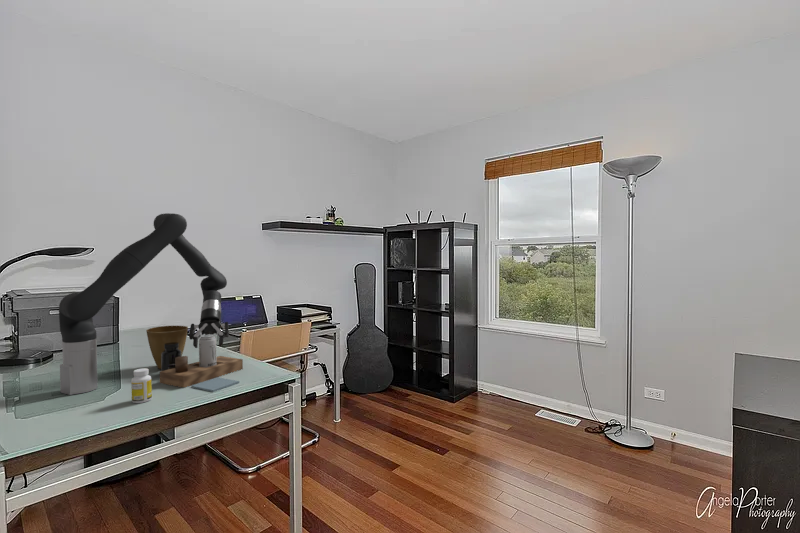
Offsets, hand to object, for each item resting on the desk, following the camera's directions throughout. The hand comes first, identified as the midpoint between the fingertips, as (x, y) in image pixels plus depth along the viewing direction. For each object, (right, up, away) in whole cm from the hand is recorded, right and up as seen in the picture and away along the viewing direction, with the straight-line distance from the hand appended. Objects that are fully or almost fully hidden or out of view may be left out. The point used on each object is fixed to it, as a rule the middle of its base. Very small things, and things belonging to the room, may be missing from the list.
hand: (208, 346), depth 159 cm
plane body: (0, -11, -3) cm, 11 cm away
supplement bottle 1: (-7, -12, -30) cm, 33 cm away
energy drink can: (+1, -11, -1) cm, 11 cm away
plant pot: (-21, -11, +9) cm, 25 cm away
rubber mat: (+10, -11, -15) cm, 21 cm away
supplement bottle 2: (-14, -11, -1) cm, 18 cm away
